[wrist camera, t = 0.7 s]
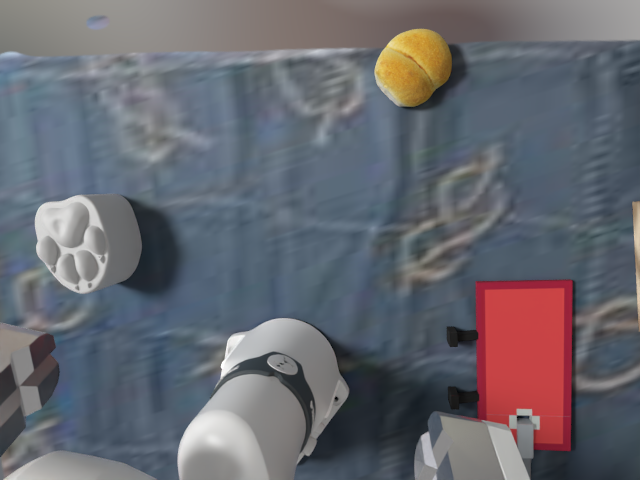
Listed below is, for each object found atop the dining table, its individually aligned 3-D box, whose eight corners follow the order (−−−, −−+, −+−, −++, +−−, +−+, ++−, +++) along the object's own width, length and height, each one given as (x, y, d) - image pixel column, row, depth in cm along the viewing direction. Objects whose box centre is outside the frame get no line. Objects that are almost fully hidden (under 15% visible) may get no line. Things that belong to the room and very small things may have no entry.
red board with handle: (450, 490, 57) (565, 496, 54) (453, 505, 54) (575, 512, 52) (445, 281, 53) (567, 278, 51) (448, 285, 51) (577, 283, 48)
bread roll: (463, 65, 49) (469, 54, 45) (408, 119, 51) (410, 113, 47) (416, 17, 49) (418, 2, 46) (363, 73, 51) (361, 63, 47)
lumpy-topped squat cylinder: (129, 190, 59) (85, 190, 50) (151, 275, 60) (112, 290, 52) (69, 204, 61) (17, 207, 52) (91, 287, 62) (44, 303, 54)
